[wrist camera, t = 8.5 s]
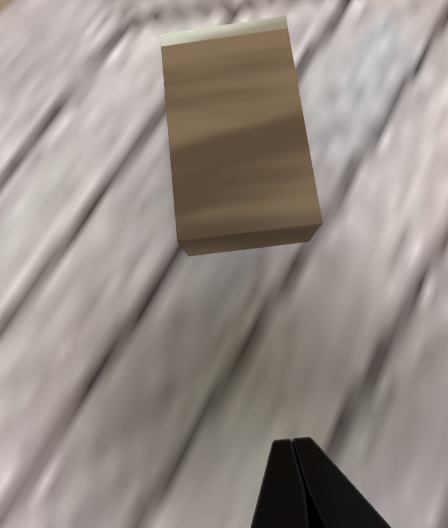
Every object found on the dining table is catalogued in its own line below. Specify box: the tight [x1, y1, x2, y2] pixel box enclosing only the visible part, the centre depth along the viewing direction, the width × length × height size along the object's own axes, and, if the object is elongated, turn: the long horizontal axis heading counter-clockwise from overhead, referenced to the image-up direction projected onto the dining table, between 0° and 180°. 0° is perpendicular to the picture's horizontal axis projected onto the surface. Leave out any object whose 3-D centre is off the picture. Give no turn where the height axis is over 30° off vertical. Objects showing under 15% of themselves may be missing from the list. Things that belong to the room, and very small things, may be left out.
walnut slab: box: [160, 16, 322, 256], centre depth 19 cm, size 4×7×12 cm
